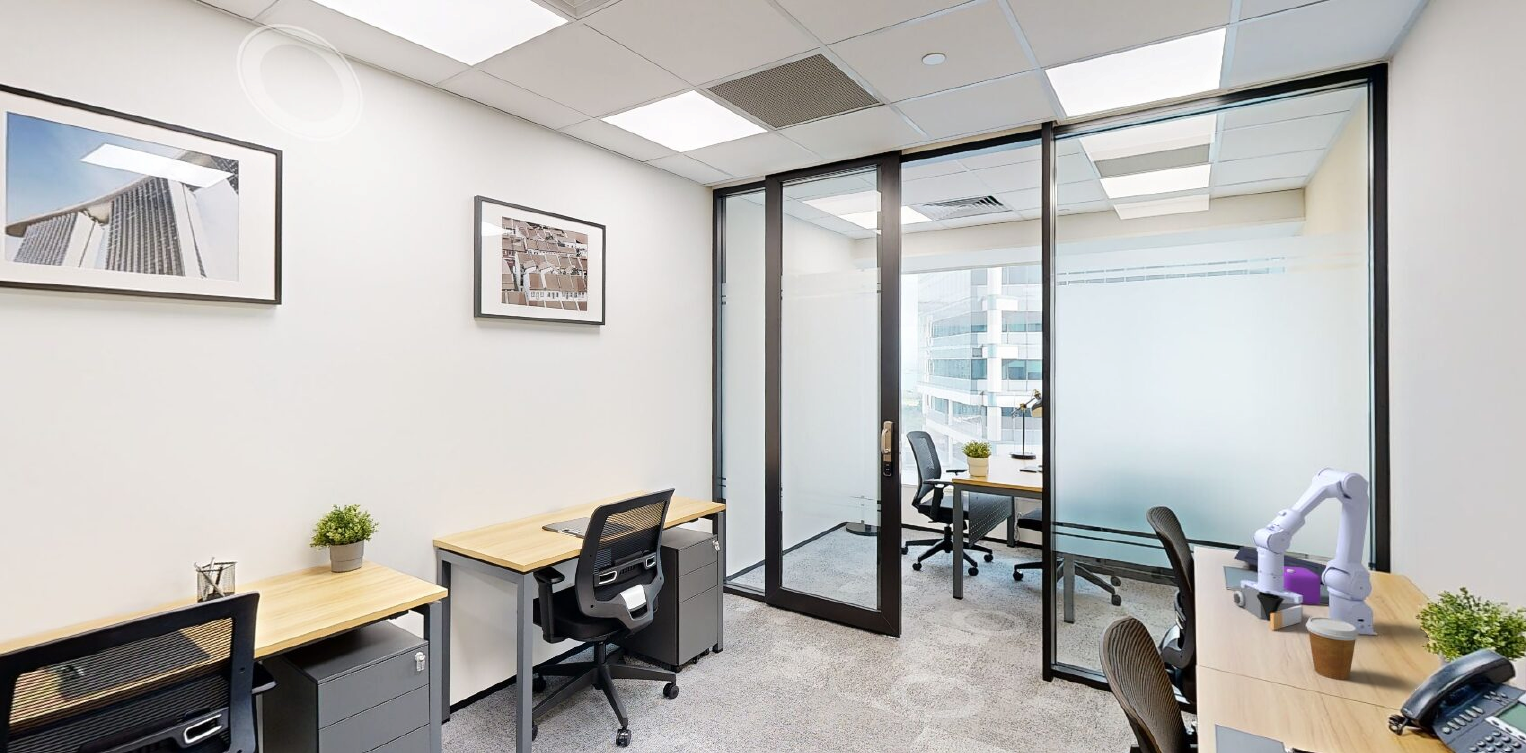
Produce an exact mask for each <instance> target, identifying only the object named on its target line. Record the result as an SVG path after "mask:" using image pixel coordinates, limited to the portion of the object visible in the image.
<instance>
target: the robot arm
mask: <svg viewBox="0 0 1526 753" xmlns="http://www.w3.org/2000/svg"><path fill="white" fill-rule="evenodd" d="M1311 479H1312V480H1311V484H1310V486H1309V487H1308V488H1307V489H1306V491H1305V492H1304V493H1303V494H1302V495H1301V497H1300V498H1299V499H1298V500H1297V501H1296V503H1295V504H1294V505H1293V506H1292V508H1286V509H1285V508H1284V509H1283V510H1279V512H1278V513H1277V516H1276V517H1274V518H1273V520H1271V522H1270V523H1268V524H1267V525H1266V527H1264V528H1263V527H1262V528H1259V529H1258V530H1256V532H1255V533H1254V535H1253V536H1252V537H1251V538H1252V541H1253V544H1254V546H1256V549H1257V551H1258V566H1257V581H1252V580H1246V579H1243V580H1240V586H1241V587H1242V588H1248V589H1251V590H1255V591H1259V594H1258V595H1257V598H1258V599H1259V601H1260V603H1261V604H1262V606H1263V609H1264V611H1265V615H1266V618H1267V620H1266V621H1268V622H1270V613H1273V612H1277V609H1278V608H1279V606H1280V604H1281V603H1282V602H1283V600H1284V599H1287V600H1290V601H1294V602H1295V603H1298V604H1299V605H1300V604H1301V603H1302V602H1303V596H1302V595H1299V594H1296V593H1293V592H1291V591H1288V590H1286V589H1284V555H1285V552H1286V551H1287V550H1289V549H1290V546H1291V541H1292V540H1293V539H1292V538H1293V536H1295V534H1296V533H1297V532H1299V531H1300V530H1301V528H1302V527H1303V526H1305V524H1306V518H1305V517H1306V516H1308V514H1310V513H1311V512H1313V511H1314V510H1315V509H1316V508H1317V507H1318V506H1319V505H1321V504H1322V503H1323V502H1324V501H1325V500H1326V499H1332V498H1336V499H1337V500H1338V501H1339V502H1340V503H1341V510H1340V511H1341V512H1340V519H1339V526H1338V535H1337V542H1336V549H1335V550H1336V551H1335V556H1334V557H1335V558H1334V557H1333V559H1331V560H1329V561H1327V562H1326V569H1325V570H1324V572H1323V574H1322V582H1321V583H1322V584H1323V585H1324V586H1325V587H1326V591H1327V592H1328V598H1329V600H1328V601H1329V602H1328V609H1329V610H1328V612H1329V613H1328V614H1329V615H1328V618H1331V619H1336V620H1340V621H1343V622H1347V623H1349V624H1351V625H1353V626H1354V627H1355V628H1356V631H1357V632H1358V634H1359V635H1371V636H1373V635H1375V636H1377V632H1376V631H1374V612H1373V610H1372V608H1371V606H1369V605H1368V604H1367V603H1366V602H1365V601H1366V599H1367V598H1368V597H1369V596H1370V594H1371V593H1372V587H1373V586H1372V583H1371V581H1370V580H1371V579H1370V578H1371V574H1370V572H1369V570H1367V568H1366V567H1365V566H1364V565H1363V562H1362V561H1363V554H1364V546H1365V539H1366V533H1367V532H1366V530H1367V524H1368V515H1369V509H1370V497H1369V494H1368V490H1369V481H1368V480H1366V479H1365V477H1364V476H1363V475H1361V474H1360V473H1356V472H1350V471H1349V472H1348V471H1343V470H1337V469H1333V468H1330V467H1326V468H1325V467H1324V468H1322V469H1320V470H1319V471H1318V472H1317V473H1316V474H1315V475H1314V476H1313V477H1312V478H1311Z"/></svg>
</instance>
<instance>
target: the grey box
mask: <svg viewBox="0 0 1526 753" xmlns="http://www.w3.org/2000/svg"><path fill="white" fill-rule="evenodd" d="M1258 594H1259V591H1255V590H1251V589H1248V588H1242V587H1241V585H1234V586H1233V602H1234V603H1235V605H1236V606H1238V607H1241V608H1243V609H1244V610H1246V611H1248V612H1249V613H1250V614H1251V615H1253V616H1255V617H1256V618H1258V619H1259V620H1264V621H1265V620H1266V621H1267V618H1266V615H1265V611H1264V609H1263V606H1262V604H1261V603H1260V601H1259V599H1258V598H1257V595H1258ZM1295 606H1301V622H1303V620H1304V607H1303V605H1302V604H1300V603H1299V604H1298V603H1295V602H1294V601H1290V600H1287V599H1284V600H1283V602H1282V603H1281V604H1280V606H1279V608H1278V609H1277V611H1281V610H1284V609H1288V608H1291V607H1295Z"/></svg>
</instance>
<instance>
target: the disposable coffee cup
mask: <svg viewBox="0 0 1526 753" xmlns="http://www.w3.org/2000/svg"><path fill="white" fill-rule="evenodd" d="M1305 627H1306V629H1307V630H1308V636H1309V637H1308V638H1309V642H1310V649H1311V656H1312V661H1313V662H1312V663H1313V667H1314V668H1313V669H1314V671H1315V672H1316V673H1317V674H1318V675H1321V676H1323V677H1327V678H1329V679H1333V680H1339V681H1340V680H1342V681H1343V680H1349V679H1350V675H1351V668H1352V663H1353V658H1354V652H1355V647H1356V646H1355V645H1356V642H1357V641H1356V640H1357V639H1358V637H1359V635H1360V634H1358V632H1357V631H1356V628H1355V627H1354V626H1353V625H1351V624H1349V623H1347V622H1343V621H1340V620H1336V619H1331V618H1329V617H1322V616H1313V617H1309V618H1308V620H1307V622H1306V623H1305Z"/></svg>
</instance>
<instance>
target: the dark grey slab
mask: <svg viewBox="0 0 1526 753" xmlns="http://www.w3.org/2000/svg"><path fill="white" fill-rule="evenodd" d="M1233 559H1234V560H1238V561H1241V562H1244V563H1246V564H1250V565H1252V566H1253V565H1254V566H1257V567H1258V551H1257V548H1253V547H1251V548H1248V547H1244V546H1240V547H1239V549H1238V551H1237V553H1236V555H1235V556H1234V557H1233ZM1284 566H1287V567H1301V568H1306V569H1308V570H1310V571H1311V572H1313V573H1315V574H1316V575H1318V576H1319V577H1320V583H1323V582H1322V574H1323V572H1324V570H1325V569H1326V566H1327V564H1323V563H1318V562H1314V561H1311V560H1306V559H1303V558H1299V557H1295V556H1291V555H1285V554H1284Z"/></svg>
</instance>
